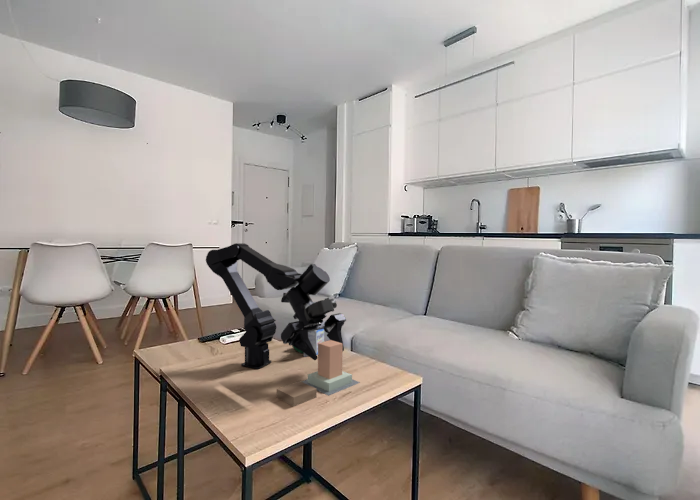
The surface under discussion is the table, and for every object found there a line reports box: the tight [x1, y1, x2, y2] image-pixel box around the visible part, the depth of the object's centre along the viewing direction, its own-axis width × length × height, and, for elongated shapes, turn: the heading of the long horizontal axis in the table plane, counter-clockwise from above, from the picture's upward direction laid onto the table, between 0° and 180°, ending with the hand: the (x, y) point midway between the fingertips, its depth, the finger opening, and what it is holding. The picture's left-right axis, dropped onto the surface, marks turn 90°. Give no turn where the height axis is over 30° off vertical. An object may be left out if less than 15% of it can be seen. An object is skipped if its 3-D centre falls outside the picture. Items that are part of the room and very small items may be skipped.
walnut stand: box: [275, 380, 318, 407], centre depth 82 cm, size 6×6×3 cm
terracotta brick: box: [317, 339, 344, 379], centre depth 91 cm, size 4×4×8 cm
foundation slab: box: [307, 370, 353, 392], centre depth 91 cm, size 8×8×2 cm
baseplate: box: [301, 378, 361, 397], centre depth 91 cm, size 11×11×1 cm
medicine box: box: [303, 329, 325, 358], centre depth 117 cm, size 8×4×9 cm, turn 166°
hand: (329, 355), depth 91 cm, fingers open, 9 cm apart
